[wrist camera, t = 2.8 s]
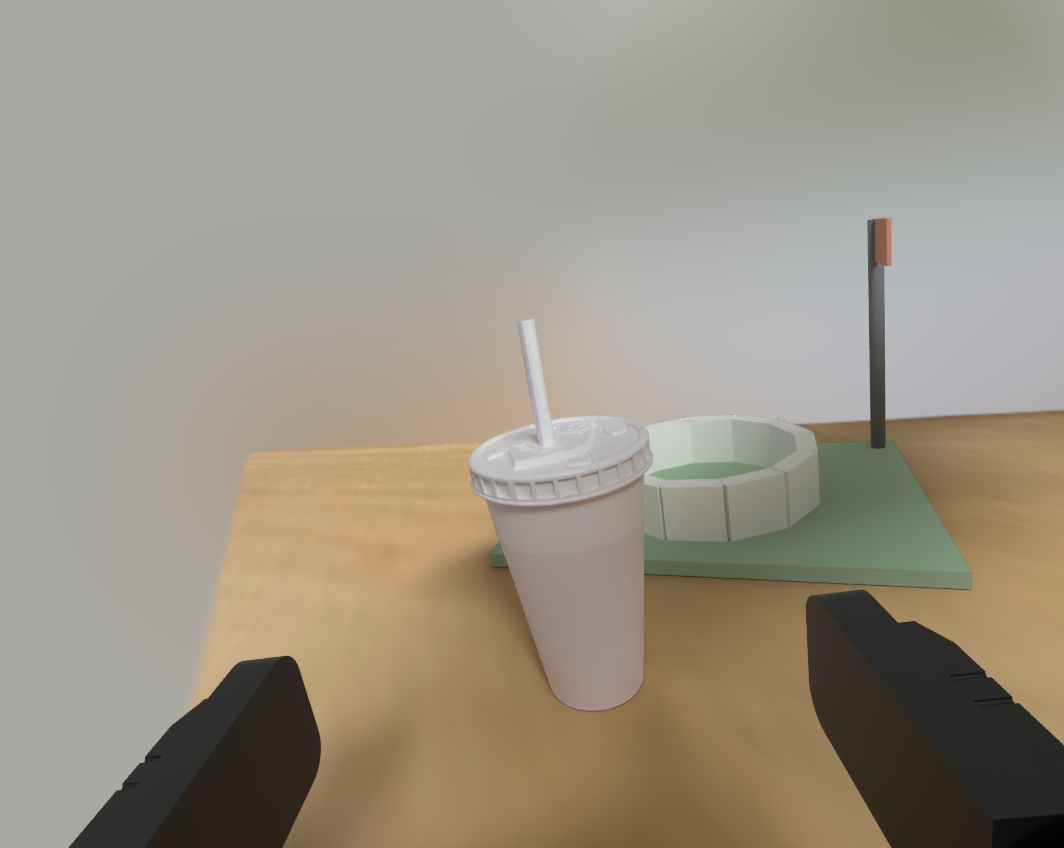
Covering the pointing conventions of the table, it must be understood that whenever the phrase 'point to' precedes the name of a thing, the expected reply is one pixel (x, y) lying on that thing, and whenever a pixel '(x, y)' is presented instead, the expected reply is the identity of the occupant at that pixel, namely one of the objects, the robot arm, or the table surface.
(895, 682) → the robot arm
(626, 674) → the smoothie
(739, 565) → the practice green
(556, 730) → the table surface
